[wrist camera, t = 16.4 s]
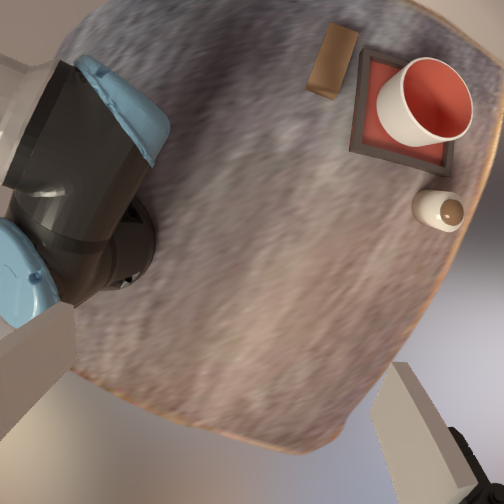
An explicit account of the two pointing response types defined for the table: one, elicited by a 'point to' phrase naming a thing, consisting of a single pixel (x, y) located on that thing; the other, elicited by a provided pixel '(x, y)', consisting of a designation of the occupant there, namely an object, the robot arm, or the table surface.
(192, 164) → the table surface
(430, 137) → the cup
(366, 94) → the tray
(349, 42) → the box
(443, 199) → the ceramic jar
